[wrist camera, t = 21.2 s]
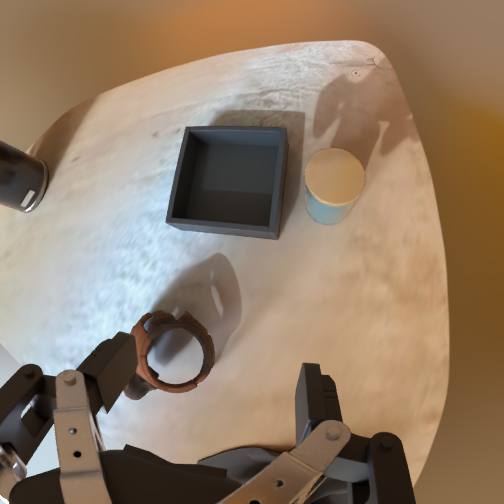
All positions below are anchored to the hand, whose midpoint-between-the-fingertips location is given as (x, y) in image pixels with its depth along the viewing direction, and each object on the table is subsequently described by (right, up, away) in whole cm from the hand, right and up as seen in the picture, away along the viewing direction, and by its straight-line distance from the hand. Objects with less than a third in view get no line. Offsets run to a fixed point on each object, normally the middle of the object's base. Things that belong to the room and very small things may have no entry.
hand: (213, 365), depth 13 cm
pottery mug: (-7, -6, +19) cm, 21 cm away
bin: (0, +13, +20) cm, 24 cm away
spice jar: (+10, +10, +18) cm, 23 cm away
